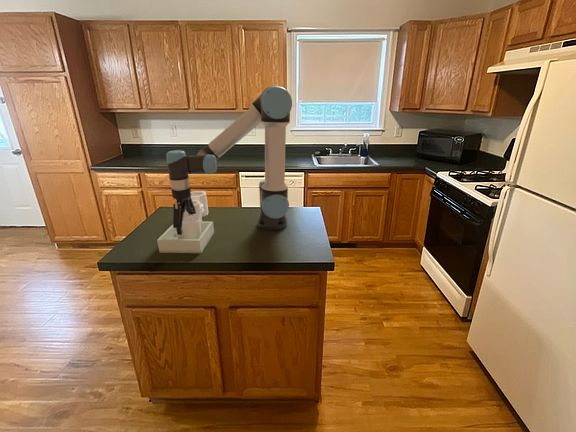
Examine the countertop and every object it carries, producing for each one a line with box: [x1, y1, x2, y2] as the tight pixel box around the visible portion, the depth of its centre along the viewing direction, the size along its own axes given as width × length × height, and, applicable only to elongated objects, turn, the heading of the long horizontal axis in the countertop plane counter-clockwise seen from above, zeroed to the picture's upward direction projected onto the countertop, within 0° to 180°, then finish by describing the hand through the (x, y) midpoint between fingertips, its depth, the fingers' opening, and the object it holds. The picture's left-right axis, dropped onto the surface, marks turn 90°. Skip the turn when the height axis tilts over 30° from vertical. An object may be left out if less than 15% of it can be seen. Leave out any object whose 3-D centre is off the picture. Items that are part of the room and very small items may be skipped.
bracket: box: [183, 190, 209, 221], centre depth 162 cm, size 25×10×12 cm, turn 5°
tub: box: [156, 220, 215, 254], centre depth 138 cm, size 18×20×6 cm
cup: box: [174, 216, 202, 239], centre depth 137 cm, size 8×12×10 cm
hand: (187, 233), depth 138 cm, fingers open, 13 cm apart
